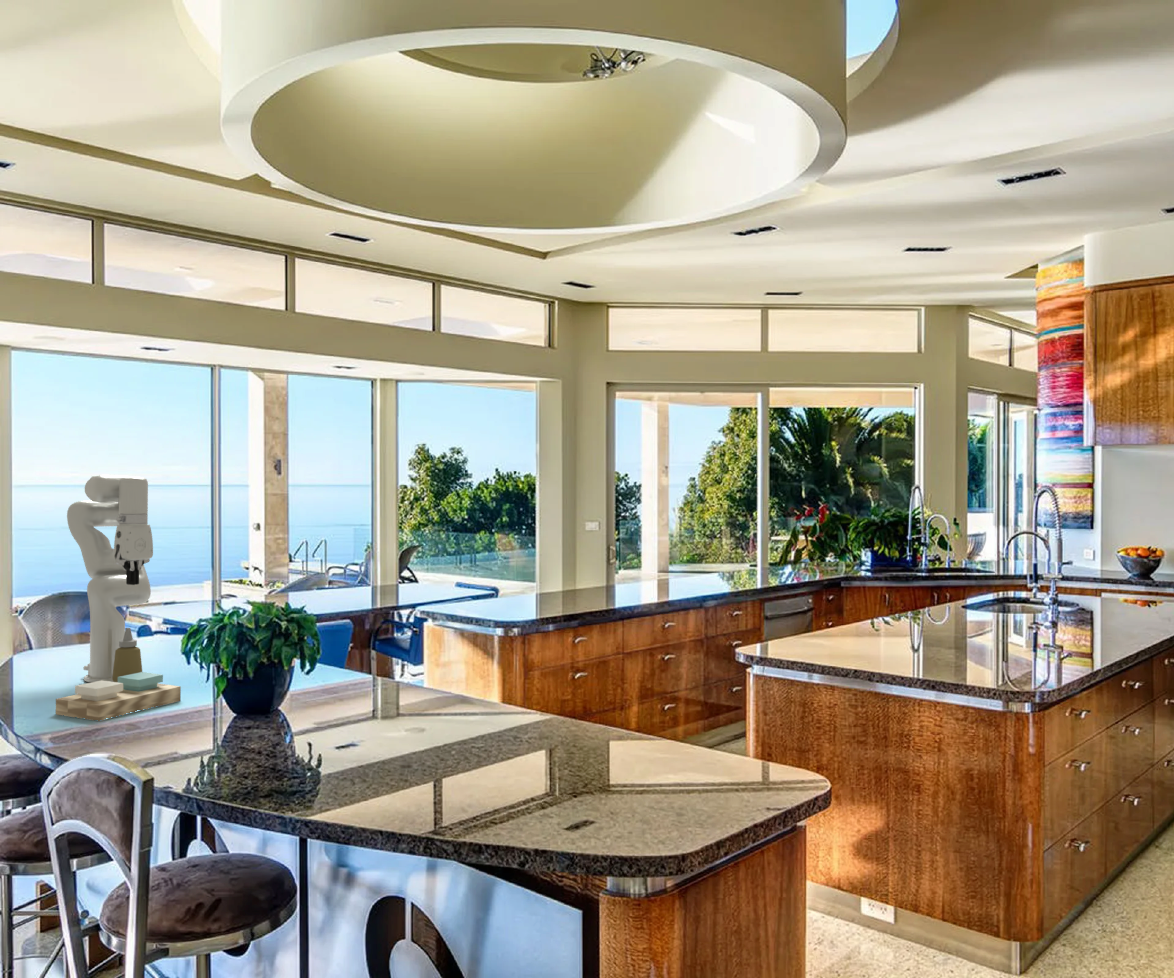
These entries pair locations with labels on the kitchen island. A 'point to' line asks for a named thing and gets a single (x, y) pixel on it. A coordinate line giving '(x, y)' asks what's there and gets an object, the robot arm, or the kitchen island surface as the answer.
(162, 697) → the light wood flat block
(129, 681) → the teal key
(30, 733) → the kitchen island surface
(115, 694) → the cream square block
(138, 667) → the squeeze bottle
